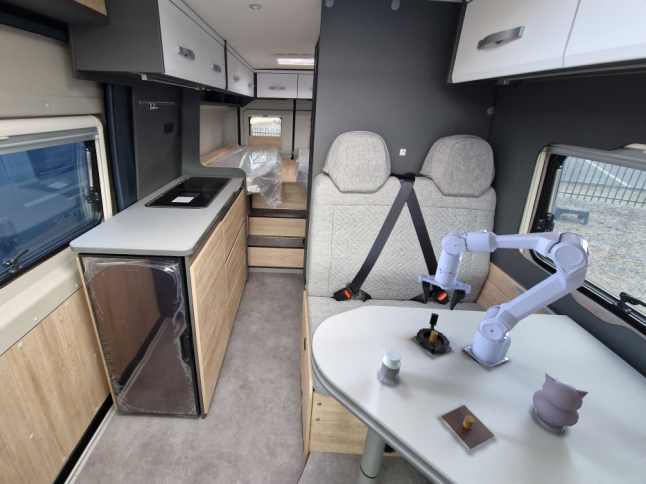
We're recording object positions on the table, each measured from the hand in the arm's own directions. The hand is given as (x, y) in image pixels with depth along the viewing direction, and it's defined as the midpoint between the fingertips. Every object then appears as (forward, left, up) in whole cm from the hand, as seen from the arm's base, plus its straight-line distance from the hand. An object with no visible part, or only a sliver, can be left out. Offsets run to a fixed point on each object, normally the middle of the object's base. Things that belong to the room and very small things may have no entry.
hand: (438, 305), depth 99 cm
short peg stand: (+19, +28, -10) cm, 35 cm away
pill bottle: (+27, +10, -10) cm, 30 cm away
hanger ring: (+5, +4, -9) cm, 11 cm away
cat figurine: (-2, +34, -10) cm, 36 cm away
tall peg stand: (+6, +5, -10) cm, 13 cm away
